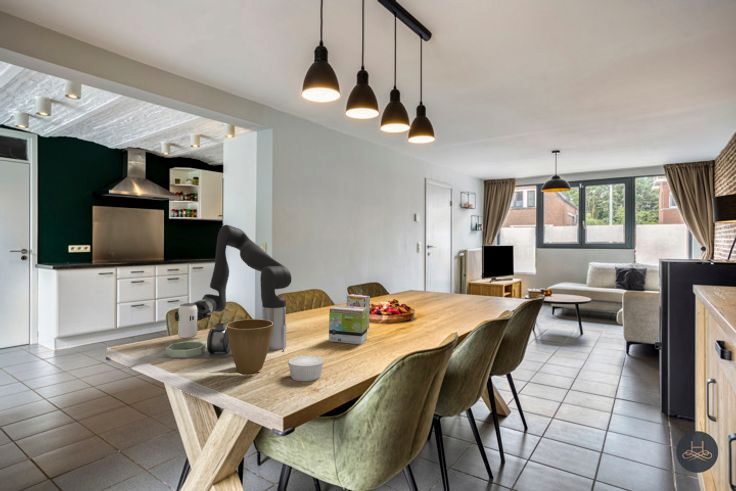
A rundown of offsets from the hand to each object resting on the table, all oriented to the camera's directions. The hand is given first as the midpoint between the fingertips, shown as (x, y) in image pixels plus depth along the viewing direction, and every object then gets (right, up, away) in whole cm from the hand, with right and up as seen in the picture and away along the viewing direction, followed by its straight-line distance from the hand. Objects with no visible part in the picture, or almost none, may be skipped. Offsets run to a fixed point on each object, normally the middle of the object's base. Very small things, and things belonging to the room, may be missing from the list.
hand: (183, 318), depth 146 cm
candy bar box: (+63, -15, +54) cm, 84 cm away
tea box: (+59, -15, +28) cm, 68 cm away
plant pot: (+29, -15, -15) cm, 36 cm away
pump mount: (+5, -14, +3) cm, 15 cm away
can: (0, -7, +3) cm, 8 cm away
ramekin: (+48, -16, -19) cm, 54 cm away
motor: (+12, -14, +3) cm, 19 cm away
